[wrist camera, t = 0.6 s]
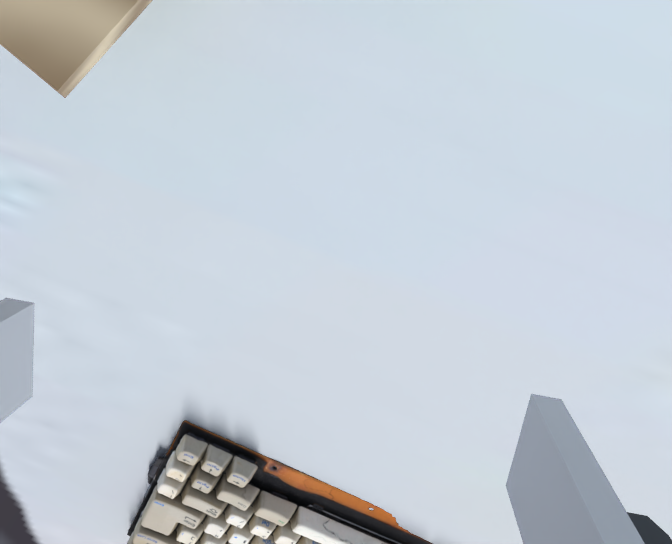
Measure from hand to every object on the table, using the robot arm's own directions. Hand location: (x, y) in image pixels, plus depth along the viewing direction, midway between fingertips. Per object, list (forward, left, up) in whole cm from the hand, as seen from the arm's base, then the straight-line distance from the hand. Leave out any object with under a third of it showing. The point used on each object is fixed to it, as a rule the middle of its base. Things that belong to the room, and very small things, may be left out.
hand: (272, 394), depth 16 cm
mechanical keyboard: (+32, +27, -27) cm, 50 cm away
